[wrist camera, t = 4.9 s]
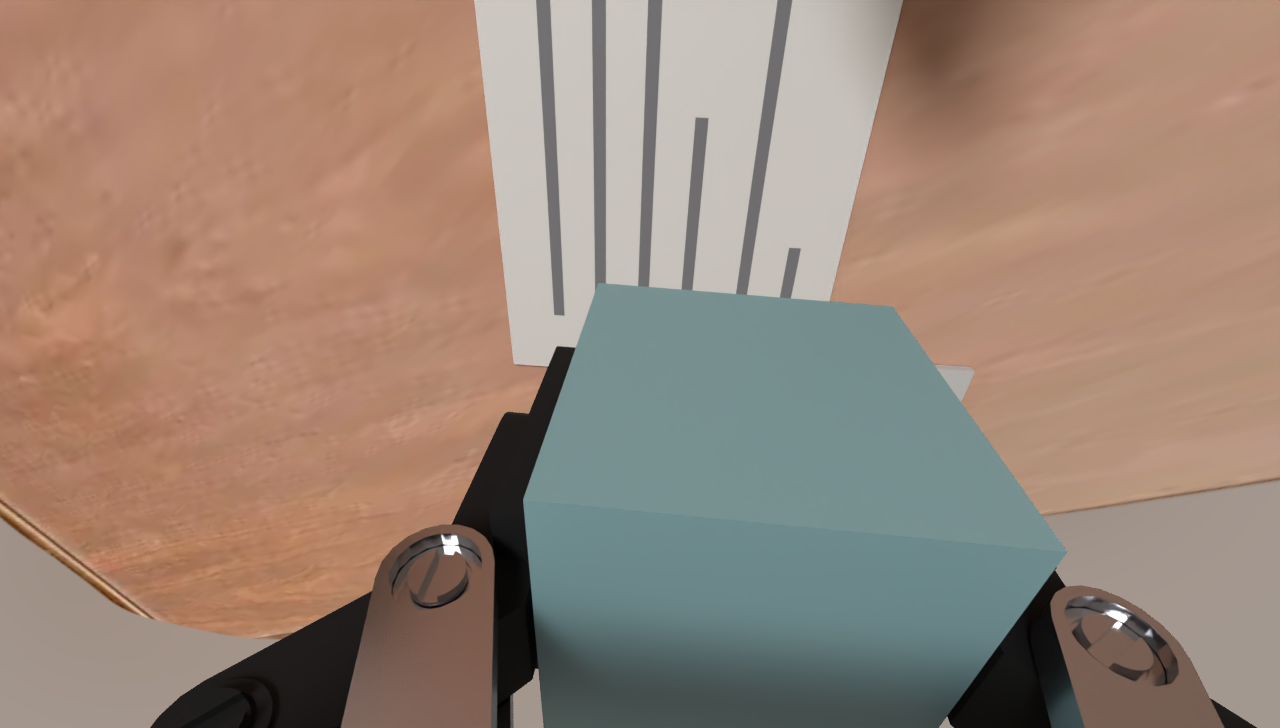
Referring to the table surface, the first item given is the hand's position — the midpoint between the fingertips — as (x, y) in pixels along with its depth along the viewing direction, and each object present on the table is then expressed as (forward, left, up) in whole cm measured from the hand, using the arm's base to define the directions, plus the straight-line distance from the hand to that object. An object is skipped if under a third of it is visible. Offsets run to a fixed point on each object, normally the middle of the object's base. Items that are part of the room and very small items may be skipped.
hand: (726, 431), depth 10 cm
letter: (+1, 0, -15) cm, 15 cm away
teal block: (0, 0, -1) cm, 1 cm away
